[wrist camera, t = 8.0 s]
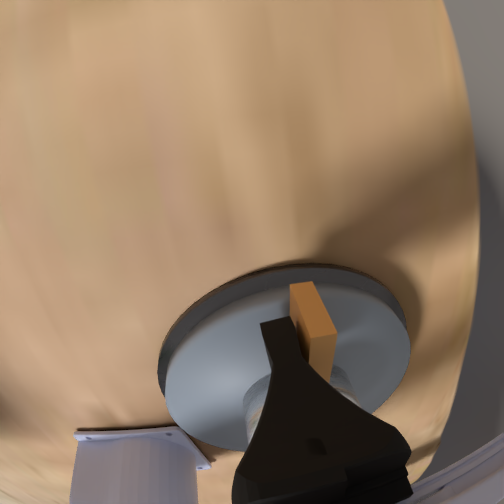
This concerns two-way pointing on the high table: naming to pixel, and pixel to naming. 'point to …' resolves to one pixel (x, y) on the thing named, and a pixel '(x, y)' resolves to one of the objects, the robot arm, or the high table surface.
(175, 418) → the turntable
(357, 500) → the robot arm
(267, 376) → the cover
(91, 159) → the high table surface
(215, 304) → the turntable base
